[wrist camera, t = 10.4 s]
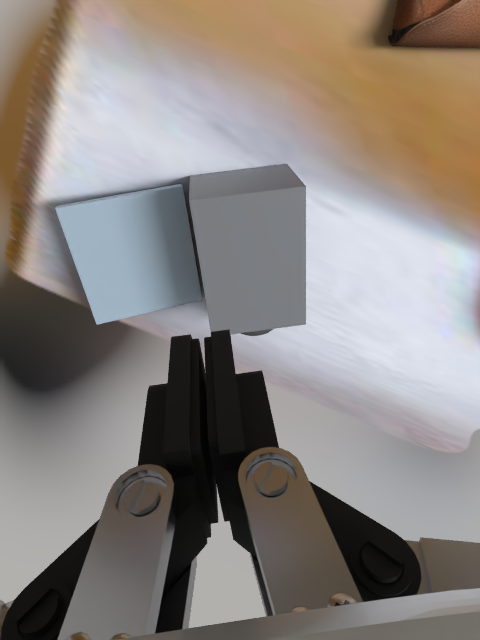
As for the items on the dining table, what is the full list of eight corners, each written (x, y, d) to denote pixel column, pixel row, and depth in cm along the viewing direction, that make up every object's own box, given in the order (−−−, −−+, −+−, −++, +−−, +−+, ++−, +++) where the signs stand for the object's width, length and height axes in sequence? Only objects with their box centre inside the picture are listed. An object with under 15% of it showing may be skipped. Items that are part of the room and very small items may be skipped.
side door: (181, 183, 37) (55, 205, 34) (182, 185, 36) (55, 208, 34) (200, 296, 43) (96, 320, 41) (202, 299, 43) (96, 324, 41)
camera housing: (189, 175, 37) (189, 200, 31) (286, 164, 37) (305, 186, 31) (211, 309, 45) (213, 350, 39) (290, 298, 45) (305, 337, 39)
